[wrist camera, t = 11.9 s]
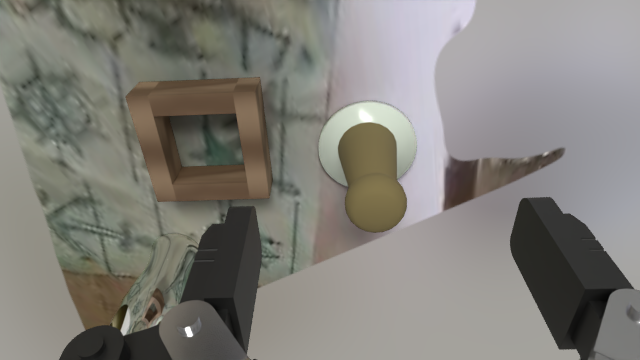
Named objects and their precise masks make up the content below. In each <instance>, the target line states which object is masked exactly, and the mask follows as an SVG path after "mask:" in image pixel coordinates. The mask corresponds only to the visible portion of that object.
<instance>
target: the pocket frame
mask: <svg viewBox="0 0 640 360" xmlns="http://www.w3.org/2000/svg"><path fill="white" fill-rule="evenodd" d="M126 100H127V103H128V107H129V110H130V113H131V116H132V120H133V123H134V126H135V129H136V133H137V136H138V139H139V142H140V146H141V149H142V152H143V155H144V159H145V162H146V165H147V168H148V172H149V175H150V178H151V181H152V185H153V188H154V191H155V194H156V198H157V201H158V202H166V201H198V200H229V199H261V198H270V192H271V186H272V181H273V178H272V170H271V162H270V154H269V146H268V138H267V130H266V122H265V114H264V106H263V98H262V90H261V81H260V77H257V78H232V79H207V80H182V81H157V82H139V83H138V84H137V85H136V86H135V87H134V88H133V89H132V90H131V91H130V93H129V94H128V95H127V96H126ZM232 113H236V116H237V122H238V128H239V135H240V141H241V147H242V153H243V159H244V165H220V166H190V167H182V166H181V162H180V158H179V154H178V150H177V146H176V142H175V138H174V135H173V131H172V127H171V123H170V119H169V116H179V115H205V114H232Z"/></svg>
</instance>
